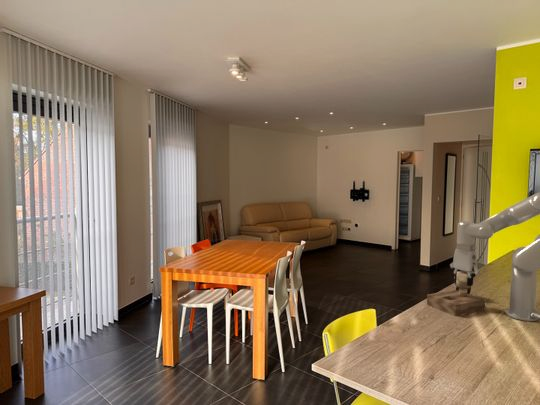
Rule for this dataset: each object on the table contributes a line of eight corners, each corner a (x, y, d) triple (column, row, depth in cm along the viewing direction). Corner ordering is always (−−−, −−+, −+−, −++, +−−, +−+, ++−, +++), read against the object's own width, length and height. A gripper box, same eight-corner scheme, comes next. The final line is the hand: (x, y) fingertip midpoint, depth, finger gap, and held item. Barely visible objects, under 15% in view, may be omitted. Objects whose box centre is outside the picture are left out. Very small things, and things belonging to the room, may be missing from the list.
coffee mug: (470, 301, 186) (471, 281, 186) (451, 297, 192) (452, 278, 191) (473, 295, 196) (474, 276, 195) (456, 292, 201) (456, 274, 200)
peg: (473, 296, 177) (474, 273, 176) (464, 298, 175) (465, 275, 174) (461, 293, 183) (462, 270, 182) (452, 294, 180) (453, 271, 180)
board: (484, 309, 174) (485, 299, 174) (454, 315, 166) (455, 305, 165) (455, 299, 188) (455, 289, 188) (426, 304, 180) (427, 294, 180)
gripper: (487, 250, 171) (485, 287, 172) (455, 243, 187) (453, 278, 188) (476, 251, 168) (474, 289, 169) (444, 244, 183) (443, 279, 185)
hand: (463, 283), depth 178 cm, fingers closed on peg, 6 cm apart
